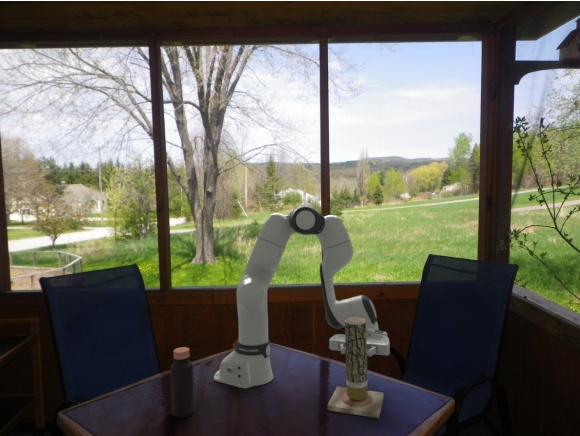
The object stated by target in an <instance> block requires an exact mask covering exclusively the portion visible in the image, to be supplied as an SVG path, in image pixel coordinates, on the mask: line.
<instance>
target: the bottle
mask: <svg viewBox="0 0 580 436" xmlns="http://www.w3.org/2000/svg"><path fill="white" fill-rule="evenodd" d="M190 350H191V349H190V348H189V347H187V346H182V347H180V346H179V347H177V348H175V349H173V360H174V362H173V363H172V364H171V365H170V382H171V383H170V393H171V395H170V396H171V415H172V416H173V417H174V418H179V419H180V418H186V417H189V416H191V415H193V413H194V412H195V399H194V397H195V396H194V395H195V394H194V363H193V362H192V361H191V360H189V359H190V357H191V356H190V355H191V354H190Z"/></svg>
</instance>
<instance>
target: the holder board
mask: <svg viewBox="0 0 580 436" xmlns="http://www.w3.org/2000/svg"><path fill="white" fill-rule="evenodd" d="M367 391H368V395H367V397H366V398H365V399H363V400H353V399H351V398H349V397H348V396H347V392H346V387H344V386H336V388H335V389H334V392H333V394H332V396H331V397H330V399H329V401H328V403H327V406H326V407H327V408H326V409H327V411H329V412H330V411H331V412H335V413H337V412H338V413H343V414H351V415H357V416H362V417H363V416H364V417H369V418H374V419H375V418H376V419H379V418H380V415H381V411H382V407H383V404H384V400H385V392H381V391H374V390H373V391H372V390H368V389H367Z"/></svg>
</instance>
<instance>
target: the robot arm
mask: <svg viewBox="0 0 580 436" xmlns="http://www.w3.org/2000/svg"><path fill="white" fill-rule="evenodd" d="M294 233H295V234H296V233H297V234H299V235H302V236H303V235H304V236H308V235H309V236H311V235H315V236H316V237H317V238H318V241H319V243H320V246H321V249H322V253H323V258H322V261H321V262H320V263H319V276H320V284H321V290H322V291H321V292H322V297H323V302H324V311H325V312H324V313H325V319H326V322H327V324H328V326H330V327H332V328H334V329H336V330H340V329H342V328H345V319H346V318H349V317H361V318H364V319H366V332H367V351H366V356H367V357H370V358H371V357H372V356H373V355H378V356H379V355H380V356H389V355H390V354H391V352H390V350H391V349H390V347H391V346H390V338H389V337H388V332H386V331H383V330H380V329H379V324H378V321H377V319H378V312H377V309H376V306H375V303H374V302H373V301H372V300H371V298H370V297H368V296H367V295H364V294H361V295H356V296H353V297H350V298H345V299H341V300H337V299H336V293H335V288H334V287H335V286H334V282H333V281H334V280H333V279H334V277H335V275H336V274H337V273H338V272H339V271H341V270H342V269H343V268H344V267H345V268H346V266H347V265H348V264H349V263H350V262H351V261H352V259H353V256H354V248H353V247H354V246H353V244H352V241H351V238H350V236H349V232H348V230H347V228H346V226H345V224H344V222H343V220H342V219H341V218H340V217H339V216H338V215H335V214H327V215H322V214H321V212H319V211H318V209H316V208H314V207H313V206H311V205H309V204H301V205H300V204H299V205H297V206H296V207H294V208H293V210H292V211H290V212H289V213H288V214H283V213H280V212H274V213H271V214H269V216H268V217H267V218H266V220H265V222H264V224H263V225H262V228H261V229H260V231H259V233H258V236H257V238H256V241H255V244H254V246H253V248H252V250H251V254H250V256H249V258H248V261H247V263H246V265H245V268H244V271H243V274H242V277H241V279H240V280H239V284H238V285H237V288H236V307H237V309H236V310H237V317H238V318H237V319H238V339H237V340H236V341H235V343H233V344H232V348H234V350H233V351H231V352H230V353H229V354H228V355H227V356H225V357H224V358H223V359H222V361H221V362H220V365H219V370H217V371H216V372H215V374H213V375H214V376H213V381H214V382H218V383H223V384H226V385H229V386H233V387H237V388H239V389H249V388H251V387H257V386H262V385H265V384H268V383H269V382H271V381H272V380H273V379H274V374H273V371H272V365H271V360H270V352H271V347H270V339H269V314H268V313H269V311H268V289H269V287H270V284H271V282H272V279H273V278H274V275H275V273H276V271H277V269H278V267H279V264H280V262H281V259H282V257H283V254H284V252H285V250H286V246H287V244H288V241H289V239H290V238H291V236H292V235H294ZM328 343H329V350H331V351H336V352H337V351H338V352H340V354H341V355H346V346H345V334H343V333H338V334H337V333H336V334H334V335H332V336H331V337H330V338H329V341H328Z"/></svg>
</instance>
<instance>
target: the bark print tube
mask: <svg viewBox="0 0 580 436" xmlns="http://www.w3.org/2000/svg"><path fill="white" fill-rule="evenodd" d="M344 333H345V334H344V335H345V346H346V354H345V382H346V383H345V384H346V387H345V388H346V392H347V396H348V397H349V398H351V399H353V400H363V399H365V398H366V397H367V395H368V391H369V390H368V356H366V351H367V332H366V319H364V318H361V317H349V318H346V319H345V327H344ZM367 390H368V391H367Z"/></svg>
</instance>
